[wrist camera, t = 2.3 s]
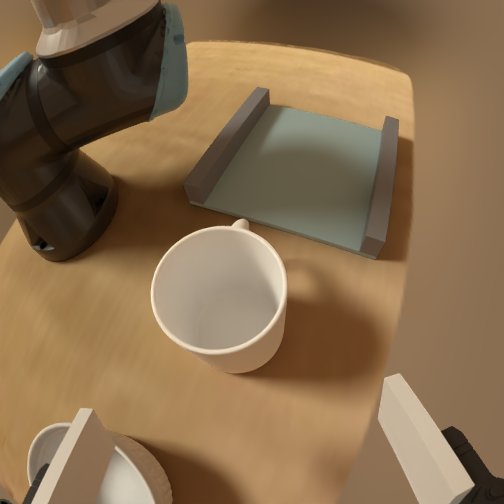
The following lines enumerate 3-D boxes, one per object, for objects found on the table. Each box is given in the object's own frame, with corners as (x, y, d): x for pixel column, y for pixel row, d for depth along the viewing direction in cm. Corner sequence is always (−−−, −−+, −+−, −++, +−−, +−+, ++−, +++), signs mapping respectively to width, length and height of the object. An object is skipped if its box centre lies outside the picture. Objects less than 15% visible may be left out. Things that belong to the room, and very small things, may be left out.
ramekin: (202, 459, 21) (179, 474, 15) (166, 556, 16) (139, 584, 9) (86, 401, 24) (43, 393, 18) (59, 494, 18) (19, 501, 12)
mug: (294, 263, 30) (301, 193, 21) (275, 382, 25) (275, 367, 15) (212, 252, 32) (187, 183, 22) (183, 364, 26) (133, 336, 17)
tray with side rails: (375, 259, 30) (385, 242, 27) (190, 203, 35) (182, 183, 32) (393, 138, 39) (398, 119, 36) (258, 105, 45) (256, 87, 42)
